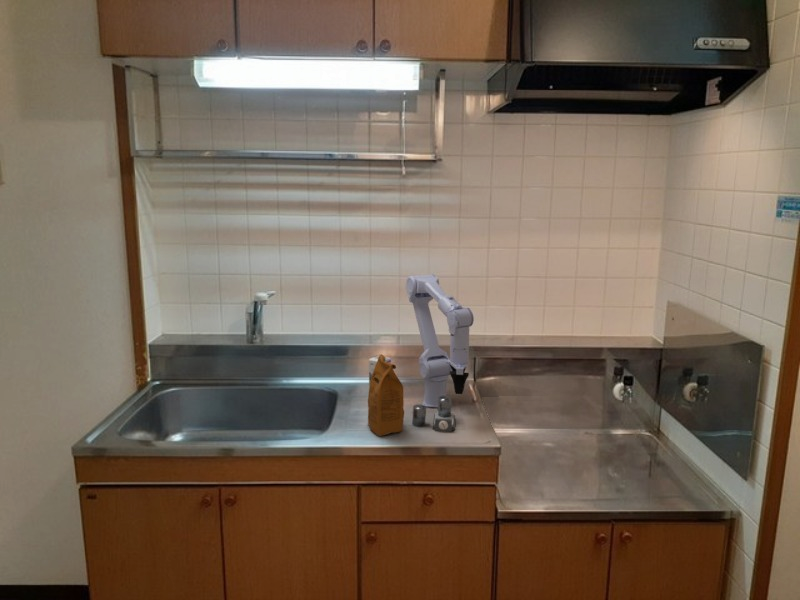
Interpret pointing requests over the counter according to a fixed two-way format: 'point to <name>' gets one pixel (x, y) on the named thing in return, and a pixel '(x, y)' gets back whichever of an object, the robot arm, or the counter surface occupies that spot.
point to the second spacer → (419, 415)
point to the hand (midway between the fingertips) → (458, 389)
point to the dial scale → (444, 423)
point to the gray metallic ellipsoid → (444, 406)
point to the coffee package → (385, 399)
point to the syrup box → (373, 363)
